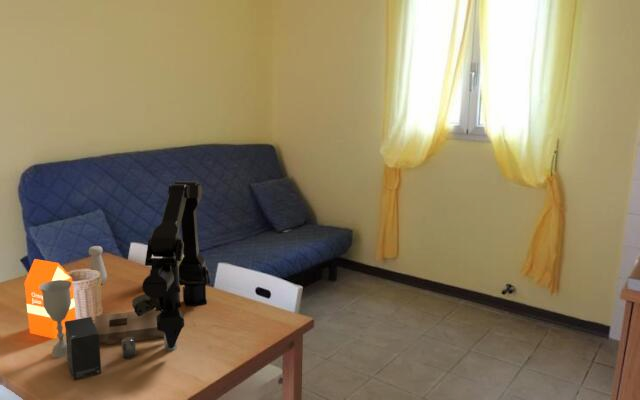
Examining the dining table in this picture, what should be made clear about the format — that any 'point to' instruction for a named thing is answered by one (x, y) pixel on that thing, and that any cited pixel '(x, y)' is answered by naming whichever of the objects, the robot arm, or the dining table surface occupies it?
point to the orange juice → (35, 308)
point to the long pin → (168, 346)
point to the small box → (82, 348)
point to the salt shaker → (97, 261)
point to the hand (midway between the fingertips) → (170, 339)
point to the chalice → (57, 309)
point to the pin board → (127, 326)
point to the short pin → (128, 347)
